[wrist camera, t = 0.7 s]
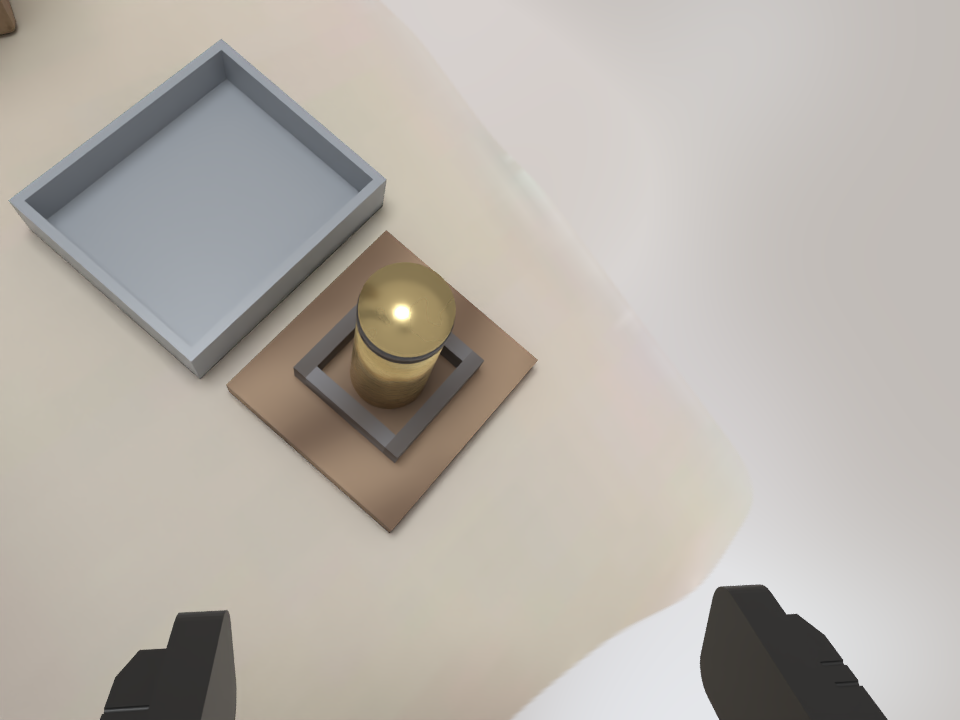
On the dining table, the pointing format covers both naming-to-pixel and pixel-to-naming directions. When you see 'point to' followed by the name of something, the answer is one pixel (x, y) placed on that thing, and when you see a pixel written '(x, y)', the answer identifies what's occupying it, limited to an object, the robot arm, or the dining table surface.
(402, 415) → the pin dock
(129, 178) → the tray
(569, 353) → the dining table surface
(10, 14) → the wooden block
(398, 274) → the pin
